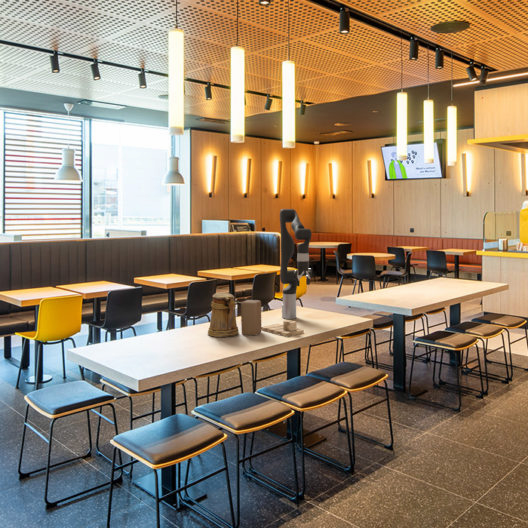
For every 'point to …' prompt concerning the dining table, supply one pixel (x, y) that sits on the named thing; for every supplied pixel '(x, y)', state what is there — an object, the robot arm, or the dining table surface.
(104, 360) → the dining table surface
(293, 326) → the sanding block
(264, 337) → the dining table surface
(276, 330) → the board
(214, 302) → the tankard
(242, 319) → the wooden block
